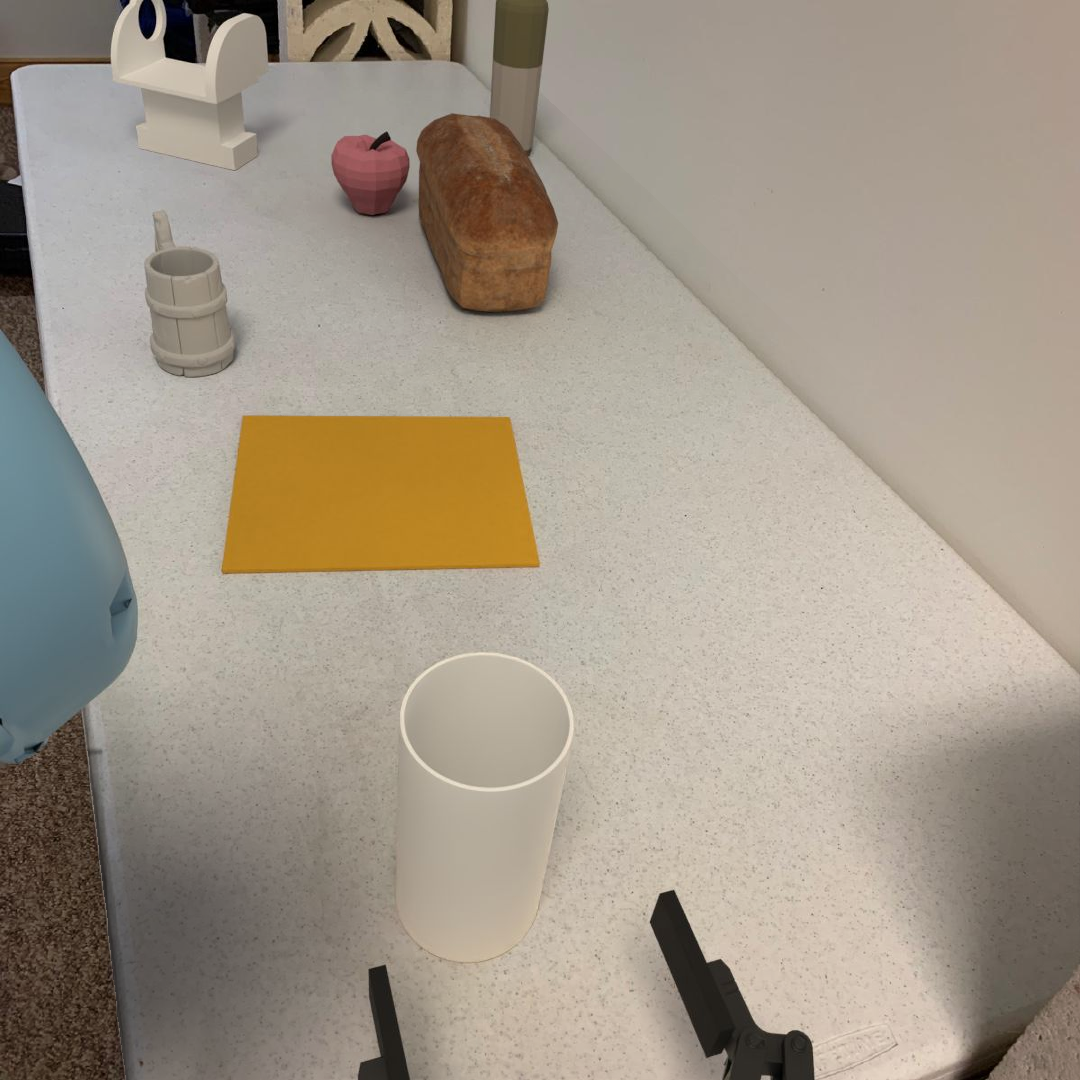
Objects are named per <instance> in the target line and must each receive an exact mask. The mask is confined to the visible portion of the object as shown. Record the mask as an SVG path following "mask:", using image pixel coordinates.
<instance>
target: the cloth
mask: <svg viewBox="0 0 1080 1080" xmlns="http://www.w3.org/2000/svg"><path fill="white" fill-rule="evenodd" d="M516 445H517V444H516V439H515V436H514V431H513V426H512V421H511V417H510V416H442V415H441V416H439V415H437V416H435V415H434V416H432V415H430V416H424V415H423V416H421V415H420V416H419V415H418V416H417V415H414V416H413V415H411V416H409V415H262V414H261V415H253V414H252V415H245V414H243V415H242V420H241V427H240V434H239V442H238V449H237V456H236V462H235V463H236V464H235V471H234V476H233V477H234V478H233V484H232V485H233V486H232V492H231V499H230V507H229V514H228V521H227V527H226V528H227V529H226V534H225V535H226V536H225V543H224V549H223V550H224V551H223V556H222V563H221V564H222V565H221V573H222V574H251V573H252V574H254V573H301V572H302V573H303V572H306V573H307V572H308V573H309V572H349V571H350V572H353V571H395V570H396V571H399V570H400V571H402V570H403V571H404V570H445V569H447V570H449V569H450V570H451V569H489V568H490V569H492V568H493V569H495V568H496V569H497V568H499V569H501V568H538V567H541V566H540V565H541V563H540V558H539V557H540V556H539V551H538V547H537V542H536V538H535V532H534V528H533V523H532V519H531V513H530V509H529V504H528V499H527V493H526V489H525V485H524V484H525V483H524V480H523V474H522V469H521V465H520V459H519V454H518V449H517V446H516Z"/></svg>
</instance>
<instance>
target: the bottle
mask: <svg viewBox="0 0 1080 1080" xmlns="http://www.w3.org/2000/svg"><path fill="white" fill-rule="evenodd" d="M549 10H550V9H549V1H548V0H495V9H494V26H493V27H494V29H493V47H492V67H491V83H490V84H491V86H490V88H491V89H490V107H489V118H494V119H496V120H498V121H499V122H501V123H502V124H504V125H505V126H507V127H508V128H509V129H510V130H511V132H512V133H513V134H514V136H515V137H516V139H517V140H518V141H519V142H520V144H521V146H522V147H523V149H524V151H525V152H526V154H527V156H529V155H530V154H531V153H532V149H533V146H534V138H535V129H536V120H537V113H538V104H539V96H540V88H541V87H540V86H541V79H542V70H543V63H544V62H543V61H544V54H545V53H544V52H545V44H546V37H547V27H548V18H549Z"/></svg>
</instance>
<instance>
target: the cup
mask: <svg viewBox="0 0 1080 1080" xmlns="http://www.w3.org/2000/svg"><path fill="white" fill-rule="evenodd" d="M563 690H564V689H562V687H561V686H560V685H559V684H558V683H557V681H555V679H554V678H553V677H552V676H550V675H549V674H548V673H547V672H545V671H544V670H542V669H541V668H540V667H538V666H536V665H535V664H533V663H531V662H529V661H526V660H524V659H522V658H519V657H516V656H513V655H510V654H509V655H508V654H505V653H498V652H486V651H485V652H484V651H483V652H482V651H478V652H469V653H467V652H466V653H462V654H459V655H454V656H451V657H448V658H446V659H443V660H439V662H436V663H435V664H433V665H431V666H430V667H428V668H427V669H425V670H424V671H423V672H422V673H420V674H419V675H418V676H417V677H416V679H414V681H413V682H412V683H411V684H410V686H409V687H408V689H407V691H406V693H405V695H404V697H403V699H402V702H401V706H400V709H399V710H400V711H399V716H398V718H399V719H398V741H397V742H398V749H397V752H398V753H397V792H396V793H397V796H396V797H397V798H396V801H397V802H396V844H395V845H396V848H395V849H396V851H395V905H396V911H397V913H398V918H399V919H400V922H401V924H402V926H403V927H404V930H405V931H406V932H407V934H408V935H409V937H411V939H412V940H413V941H414V942H415V943H416V944H417V945H418V946H420V948H422V949H424V950H425V951H427V952H428V953H429V954H431V955H433V956H436V957H438V958H440V959H443V960H447V961H451V962H456V963H479V962H484V961H488V960H492V959H495V958H497V957H500V956H501V955H503V954H505V953H507V952H509V951H510V950H511V949H513V948H514V947H516V946H517V945H518V944H519V943H520V942H521V941H522V940H523V939H524V938H525V936H526V935H528V932H529V931H530V930H531V928H532V926H533V924H534V921H535V920H536V917H537V914H538V909H539V905H540V900H541V896H542V891H543V886H544V881H545V875H546V872H547V866H548V863H549V862H548V861H549V858H550V852H551V848H552V843H553V837H554V832H555V827H556V824H557V818H558V813H559V808H560V803H561V799H562V794H563V789H564V785H565V779H566V775H567V769H568V765H569V760H570V754H571V752H572V751H571V750H572V745H573V741H574V732H575V731H574V729H575V725H574V723H575V722H574V721H575V720H574V713H573V709H572V706H571V703H570V701H569V699H568V697H567V695H566V693H565V692H564V691H563Z"/></svg>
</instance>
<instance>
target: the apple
mask: <svg viewBox="0 0 1080 1080" xmlns="http://www.w3.org/2000/svg"><path fill="white" fill-rule="evenodd" d="M410 160H411V159H410V157H409V154H408V151H407V149H406V147H405V148H404V147H403V146H401V145H400V144H398V143H396V142H395V141H394V140H392V137H391V136H390V134H389V131H388V130H387V131H385V132H383V133H381V134H380V135H379V136H378V137H373V136H371V135H368V134H361V135H344V136H343V137H342V138H340V139H338V140H337V141H336V143H335V146H334V147H333V151H332V153H331V162H330V163H331V169H332V172H333V176H334V178H335V179H336V181H337V182H338V184H339V186H340V187H341V189H342V191H343V192H344V194H345V195H346V196H347V198H348V200H349V201H350V203H351V205H352V206H353V208H354V209H355V210H356V211H357V212H358V214H359V213H360V214H363V215H369V216H375V215H377V214H379V215H380V214H385V213H387V212H389V211H390V209H392V206H393V204H394V203H395V201H396V199H397V196H398V195H399V193H400V192H401V190H402V189H403V187H404V185H406V183H407V180H408V176H409V172H410V167H411V166H410V165H411V163H410V162H411V161H410Z"/></svg>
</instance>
